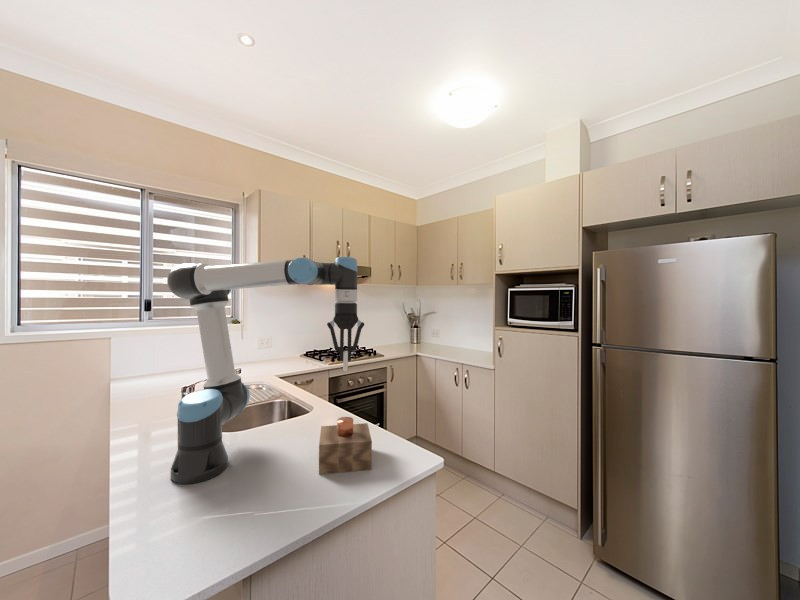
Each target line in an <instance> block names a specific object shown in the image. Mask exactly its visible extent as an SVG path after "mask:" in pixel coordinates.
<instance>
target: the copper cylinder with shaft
mask: <svg viewBox="0 0 800 600" xmlns="http://www.w3.org/2000/svg"><path fill="white" fill-rule="evenodd" d="M336 421H337V424H336V425H337V435H338V436H340V437H348V436H351V435H352V434H353V424H354V418H353V417H351V416H341V417H339V418H337V420H336Z"/></svg>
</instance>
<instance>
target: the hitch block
mask: <svg viewBox="0 0 800 600" xmlns="http://www.w3.org/2000/svg"><path fill="white" fill-rule="evenodd" d="M320 427H321V428H320V434H319V444H318V475H329V474H337V473H338V474H340V473H348V472H349V473H351V472H359V471H370V470H372V464H373V463H372V457H373V456H372V451H373V449H372V446H373V441H372V436H371V432H370V428H369V423H367V422H366V423H353V434H352V435H351V436H348V437H340V436H338V435H337V424H336V425H333V424H332V425H321V426H320Z"/></svg>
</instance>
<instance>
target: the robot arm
mask: <svg viewBox="0 0 800 600" xmlns="http://www.w3.org/2000/svg"><path fill="white" fill-rule="evenodd" d="M358 271H359V270H358V261H357V259H356V258H355V257H352V256H338V257H336V258H335V260H334V262H327V263H326V262H318V261H315V260H312V259H310V258H308V257H296V258H295V259H287V260H286V259H285V260H275V261H259V262H248V263H247V262H246V263H237V264H236V263H235V264H221V265H208V264H207V263H181V264H179V265H176V266H175V267H173V268H172V269H171V270H170V271H169V273H168V275H167V283H166V284H167V286H168V288H169V290H170V292H171V293H173V294H174V296H176V297H178V298H180V299H183V300H189V305H190V308H191V309H194V310H195V312H196V315H197V322H198V328H199V333H200V334H199V335H200V340H201V346H202V353H203V360H204V365H205V372H206V379H207V380H206V381H205V382H204V384H203V389H200V390H198V391H192V392H191V393H188V394H186V395H184V396H183V397H182V398H181V399H180V401H179V402H178V403H177V404H178V406H177V411H176V417H177V451H176V454H175V457H174V460H173V463H172V464H171V468H170V480H171V479H172V480H173V481H174V483H175V482H177V483H176V484H179V483H181V485H189V484H190V485H191V484H196V483H201V482H204V481H208V480H211V479H213V478H215V477H217V476H219V475H220V474H222V473H223V472H224V471H226V469H227V468H228V466H229V455H228V452H227V450H226V448H225V445H224V443H223V426H224V424H226V423H227V422H229V421H230V420H231V419H233V418H235V417H237V416H238V415H239V414H240V413H242V411H243V410H245V409H246V408H247V406H248V404H249V401H250V390H249V388H248V386H247V385H246V384H244V382H243V381H242V377H241V376H240V375H239V374H238V373H236V370H235V365H234V364H235V363H234V357H233V350H232V346H231V345H232V344H231V339H230V338H231V337H230V334H229V333H230V332H229V326H228V319H227V313H226V306H227V305H228V304H229V302H230V301H229V297H228V296H229V294H230V292H232V290H240V289H252V288H265V287H277V286H290V285H308V286H314V285H315V286H316V285H319V286H321V285H322V286H323V285H324V286H325V285H326V286H329V285H330V286H332V285H333V286H334V288H335V289H334V300H335V302H336V303H335V304H334V316H333V318H332V320H330V321H328V322H327V323H326V326H327V327H328V328H329V331H330V335H331V340H332V343H333V347H334V350H335V351H338V352H339V361H340V362H342V367H343V368H342V369H343V370H342V371H343V372H348V369H349V366H348V365H349V362H351V360H352V352H353V351H356V350H357V349H358V344H359V340H360V337H361V334H362V333H361V332H362V329H363V328H364V326H365V323H364V321H362V320H360V319H359V317H358V304H357V302H358V273H359V272H358ZM356 324H357V325H356ZM335 325H336V326H337V327H338V329H340V330H339V343H338V340H337V337H336V332H335V328H334V327H335ZM355 325H356V326H357V329H356V332H355V337H354V340H353V343H352V330H353V329H354V327H355ZM345 330H347V350H345V348H344V347H345V345H344V344H345V341H344V340H345V339H344V338H345ZM172 480H171V481H172ZM173 481H172V482H173Z"/></svg>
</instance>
